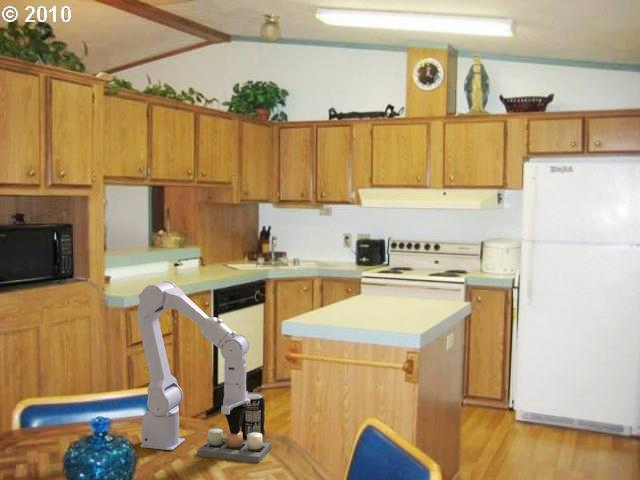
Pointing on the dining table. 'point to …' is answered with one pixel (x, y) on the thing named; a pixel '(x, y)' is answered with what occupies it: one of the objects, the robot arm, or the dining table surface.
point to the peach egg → (234, 439)
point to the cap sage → (215, 436)
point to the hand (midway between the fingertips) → (235, 432)
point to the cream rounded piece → (254, 440)
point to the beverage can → (254, 415)
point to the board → (234, 451)
